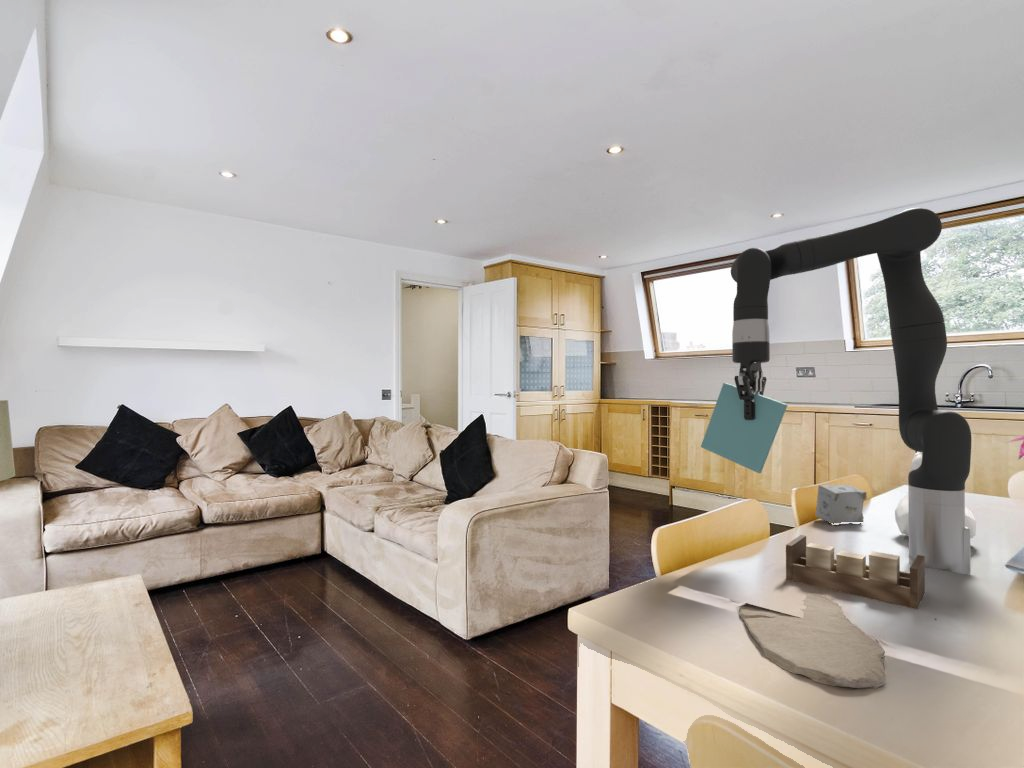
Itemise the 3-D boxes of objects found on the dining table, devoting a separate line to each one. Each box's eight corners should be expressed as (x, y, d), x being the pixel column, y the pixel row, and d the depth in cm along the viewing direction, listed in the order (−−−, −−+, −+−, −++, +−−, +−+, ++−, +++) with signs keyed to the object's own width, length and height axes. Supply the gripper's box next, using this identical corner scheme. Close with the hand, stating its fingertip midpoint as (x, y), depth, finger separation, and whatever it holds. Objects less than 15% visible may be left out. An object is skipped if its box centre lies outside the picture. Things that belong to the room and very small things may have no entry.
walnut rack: (925, 601, 94) (924, 555, 94) (917, 618, 87) (917, 569, 87) (801, 574, 108) (801, 534, 108) (785, 587, 101) (785, 545, 101)
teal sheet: (761, 472, 117) (787, 404, 113) (759, 473, 116) (785, 404, 112) (702, 446, 126) (725, 382, 122) (700, 446, 125) (723, 382, 121)
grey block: (835, 527, 145) (835, 489, 146) (814, 520, 154) (814, 484, 154) (868, 526, 147) (867, 488, 147) (845, 519, 155) (845, 483, 155)
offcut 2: (899, 596, 93) (899, 555, 93) (897, 601, 91) (896, 559, 91) (872, 590, 95) (872, 551, 96) (869, 594, 93) (868, 554, 93)
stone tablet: (830, 605, 93) (829, 592, 93) (917, 702, 64) (917, 682, 64) (729, 598, 97) (729, 584, 97) (769, 685, 68) (769, 666, 68)
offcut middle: (865, 588, 96) (865, 555, 96) (862, 593, 94) (862, 559, 94) (840, 583, 99) (840, 550, 99) (836, 587, 97) (836, 554, 97)
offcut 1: (834, 581, 100) (834, 547, 100) (830, 586, 97) (830, 550, 98) (810, 576, 102) (810, 542, 102) (806, 580, 100) (805, 546, 100)
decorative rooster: (975, 556, 120) (974, 446, 121) (890, 542, 131) (889, 441, 131) (977, 534, 139) (976, 438, 139) (902, 523, 149) (901, 435, 150)
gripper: (757, 337, 110) (758, 421, 110) (778, 342, 120) (779, 419, 120) (721, 340, 115) (721, 420, 115) (744, 344, 125) (745, 417, 125)
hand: (751, 419), depth 118 cm, fingers closed on teal sheet, 1 cm apart
